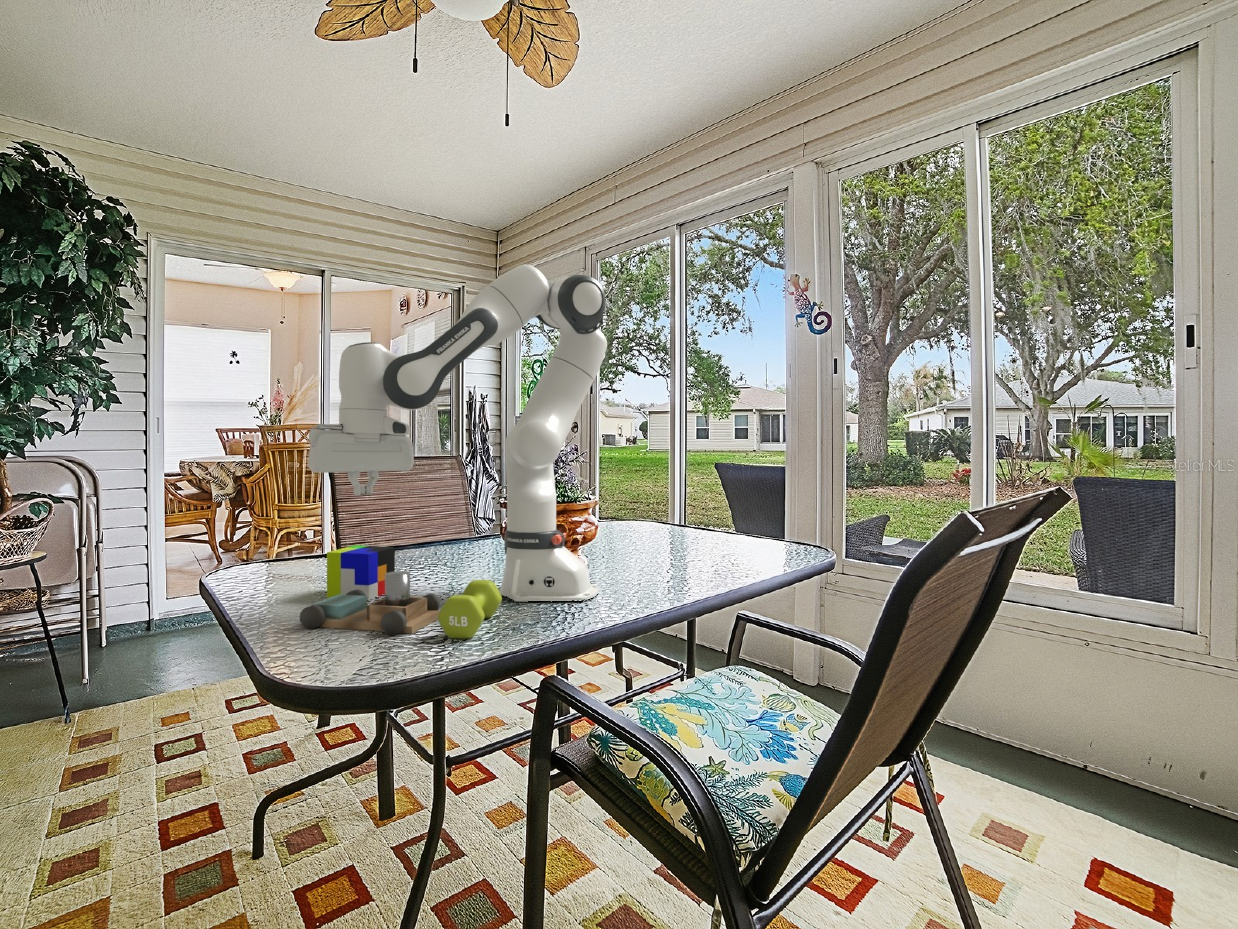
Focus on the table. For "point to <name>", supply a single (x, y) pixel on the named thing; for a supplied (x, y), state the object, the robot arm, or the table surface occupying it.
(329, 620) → the chassis
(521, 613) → the table surface
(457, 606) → the dumbbell
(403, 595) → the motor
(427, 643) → the table surface
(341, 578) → the puzzle toy
